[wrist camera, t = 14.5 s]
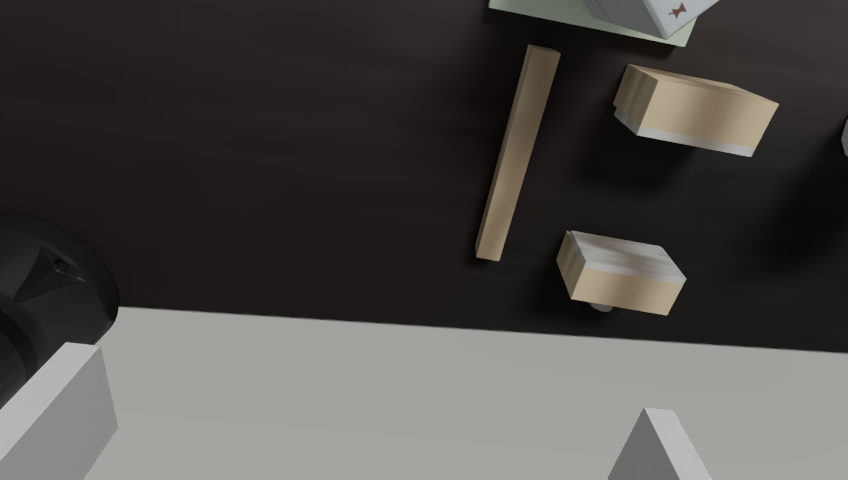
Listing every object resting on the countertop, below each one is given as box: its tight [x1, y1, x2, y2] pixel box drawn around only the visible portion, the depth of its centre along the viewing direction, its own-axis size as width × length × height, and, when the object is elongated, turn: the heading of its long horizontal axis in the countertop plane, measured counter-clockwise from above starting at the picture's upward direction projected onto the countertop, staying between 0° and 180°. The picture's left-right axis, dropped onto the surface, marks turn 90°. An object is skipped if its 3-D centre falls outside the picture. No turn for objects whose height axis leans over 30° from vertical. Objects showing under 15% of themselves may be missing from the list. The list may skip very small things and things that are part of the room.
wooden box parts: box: [475, 44, 779, 315], centre depth 38 cm, size 16×19×6 cm
